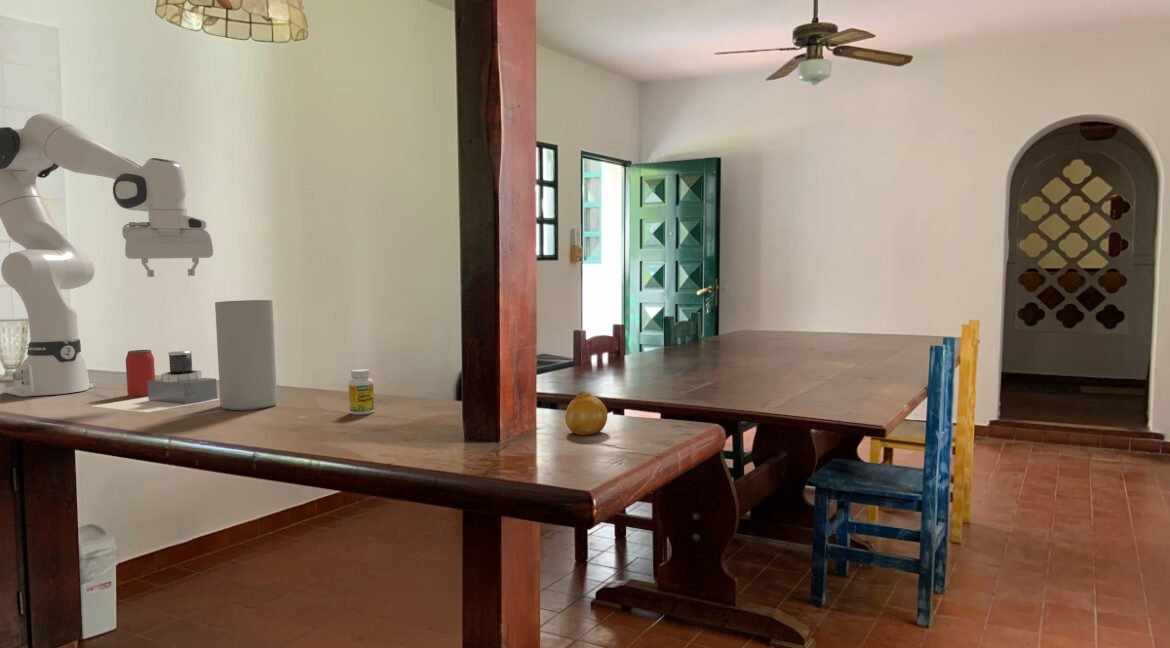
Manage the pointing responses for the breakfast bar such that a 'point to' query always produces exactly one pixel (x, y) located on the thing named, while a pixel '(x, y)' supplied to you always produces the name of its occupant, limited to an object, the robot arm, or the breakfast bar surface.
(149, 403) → the mat
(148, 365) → the beer can
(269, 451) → the breakfast bar surface
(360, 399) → the supplement bottle
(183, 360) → the lens
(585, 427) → the fruit
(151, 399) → the camera body
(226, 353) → the cylinder vase
